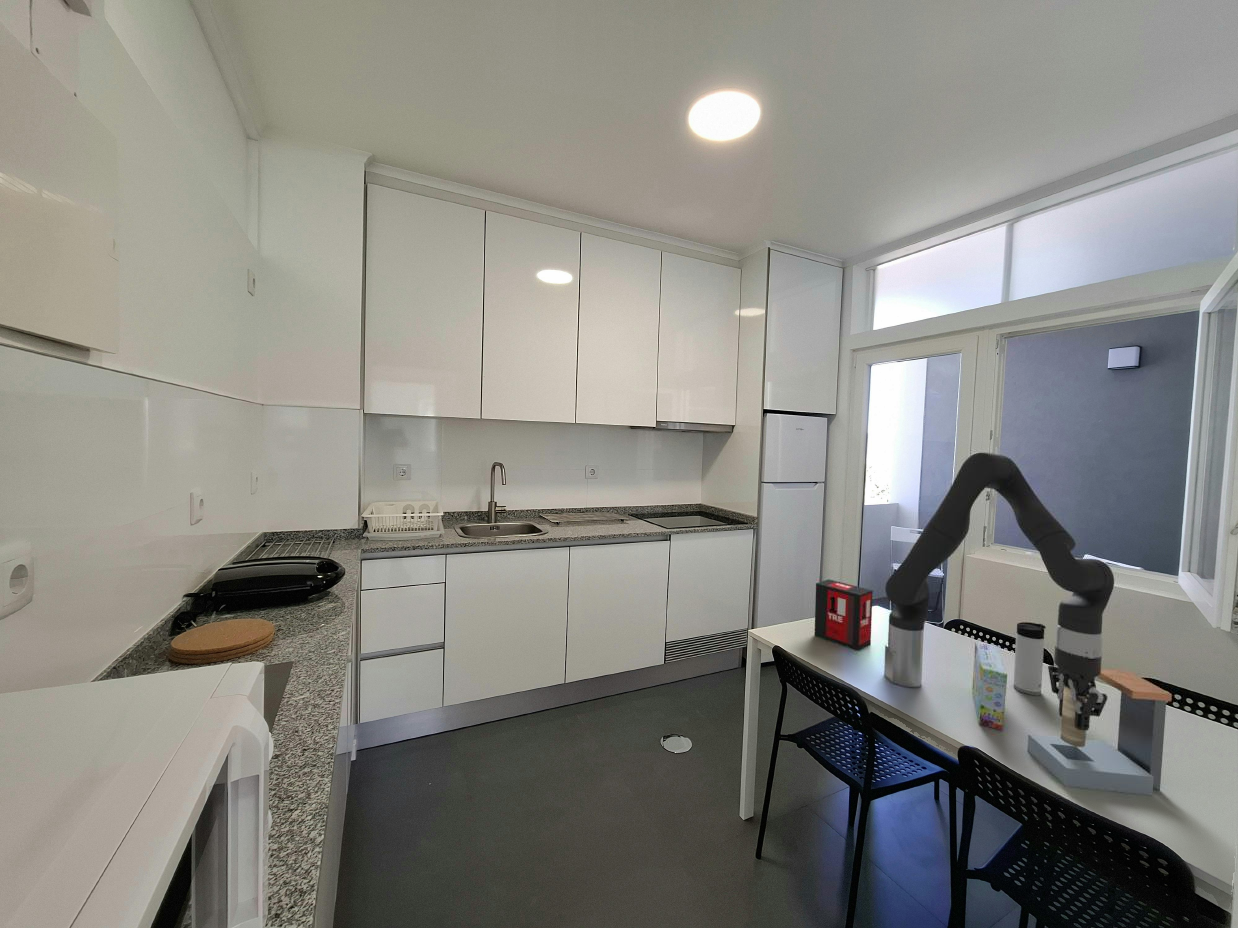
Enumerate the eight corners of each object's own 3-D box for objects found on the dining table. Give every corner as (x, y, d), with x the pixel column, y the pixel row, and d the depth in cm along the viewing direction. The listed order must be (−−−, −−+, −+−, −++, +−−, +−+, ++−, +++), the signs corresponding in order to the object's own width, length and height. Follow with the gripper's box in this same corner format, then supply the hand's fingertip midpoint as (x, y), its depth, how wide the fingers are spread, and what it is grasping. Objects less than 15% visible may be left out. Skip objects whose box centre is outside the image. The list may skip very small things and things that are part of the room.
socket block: (1065, 785, 103) (1066, 767, 102) (1027, 749, 114) (1028, 733, 114) (1152, 795, 100) (1153, 776, 100) (1104, 757, 112) (1105, 740, 112)
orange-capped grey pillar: (1126, 789, 102) (1132, 691, 101) (1088, 758, 112) (1093, 668, 110) (1164, 793, 101) (1171, 694, 99) (1122, 761, 110) (1128, 671, 109)
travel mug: (1047, 696, 138) (1051, 629, 137) (1021, 694, 140) (1025, 627, 139) (1033, 685, 144) (1037, 621, 143) (1008, 683, 146) (1012, 619, 145)
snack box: (1005, 732, 122) (1008, 674, 121) (978, 724, 125) (980, 668, 124) (994, 694, 140) (997, 644, 139) (970, 689, 143) (973, 639, 142)
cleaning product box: (870, 644, 173) (872, 590, 172) (858, 651, 167) (860, 595, 166) (827, 629, 186) (828, 579, 185) (814, 635, 180) (816, 583, 179)
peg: (1069, 745, 106) (1072, 693, 105) (1056, 734, 110) (1059, 683, 109) (1090, 747, 105) (1093, 694, 104) (1075, 736, 109) (1079, 685, 108)
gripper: (1036, 634, 114) (1032, 704, 115) (1084, 661, 100) (1079, 741, 101) (1072, 636, 113) (1067, 707, 114) (1125, 664, 99) (1120, 744, 100)
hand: (1073, 722), depth 107 cm, fingers closed on peg, 4 cm apart
